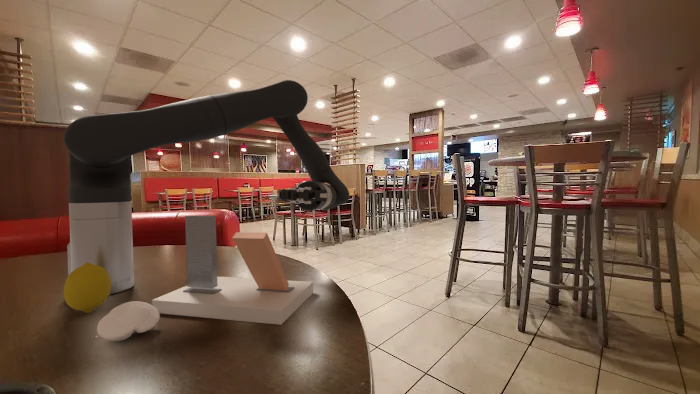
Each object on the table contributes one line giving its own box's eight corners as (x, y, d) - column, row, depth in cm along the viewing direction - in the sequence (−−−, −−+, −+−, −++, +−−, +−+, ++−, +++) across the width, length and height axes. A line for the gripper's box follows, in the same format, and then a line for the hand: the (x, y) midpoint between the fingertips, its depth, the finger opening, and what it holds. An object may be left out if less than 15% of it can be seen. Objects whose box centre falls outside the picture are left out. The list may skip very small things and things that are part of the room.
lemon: (84, 307, 48) (83, 259, 48) (120, 305, 48) (118, 258, 48) (53, 321, 42) (51, 267, 42) (93, 319, 43) (92, 266, 43)
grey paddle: (187, 286, 49) (185, 216, 49) (192, 284, 50) (190, 215, 50) (212, 288, 48) (210, 216, 47) (217, 286, 49) (215, 215, 49)
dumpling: (141, 323, 42) (140, 296, 42) (168, 327, 40) (168, 299, 40) (84, 348, 35) (83, 316, 35) (115, 354, 34) (114, 321, 33)
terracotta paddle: (259, 288, 49) (232, 237, 42) (262, 282, 50) (236, 232, 43) (286, 290, 48) (263, 238, 41) (288, 284, 49) (266, 232, 42)
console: (152, 312, 45) (151, 298, 45) (210, 285, 58) (209, 275, 58) (281, 324, 40) (281, 309, 40) (313, 292, 53) (313, 280, 53)
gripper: (291, 181, 77) (255, 176, 60) (338, 181, 74) (315, 176, 57) (290, 209, 77) (255, 212, 60) (338, 210, 74) (315, 214, 57)
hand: (284, 194), depth 58 cm, fingers closed
